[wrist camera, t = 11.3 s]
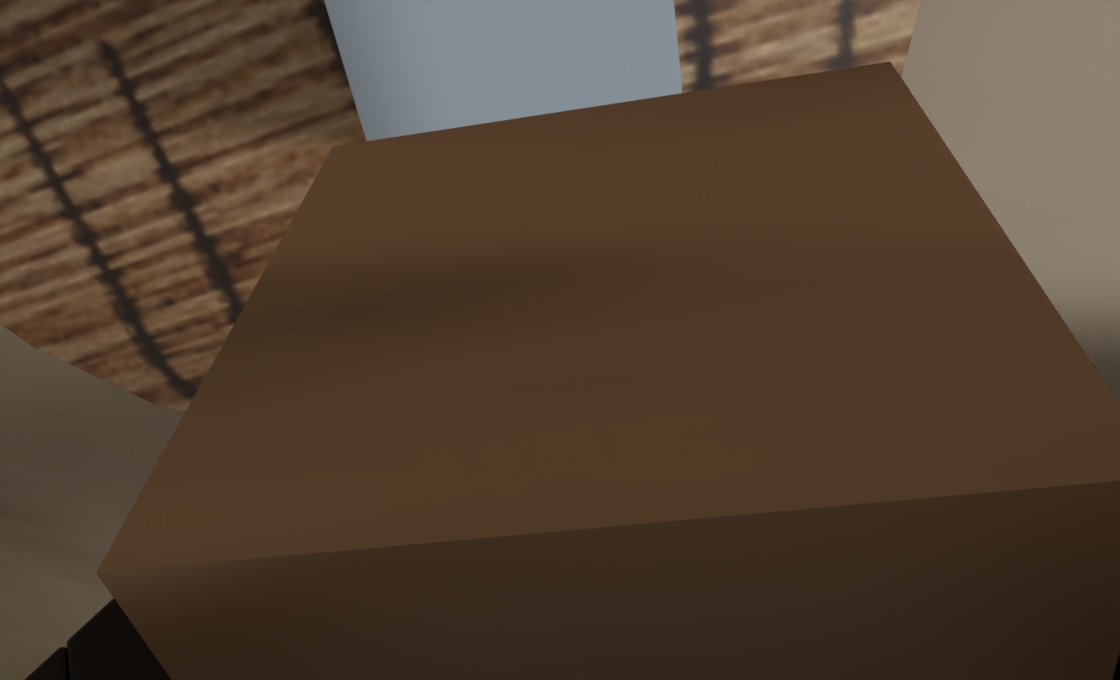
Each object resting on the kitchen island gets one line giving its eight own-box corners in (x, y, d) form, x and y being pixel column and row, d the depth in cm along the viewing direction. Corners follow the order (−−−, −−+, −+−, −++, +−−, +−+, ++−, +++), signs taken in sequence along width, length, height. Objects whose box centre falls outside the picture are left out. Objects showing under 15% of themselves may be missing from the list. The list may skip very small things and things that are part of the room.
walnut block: (879, 479, 11) (1035, 964, 7) (460, 518, 12) (379, 979, 8) (890, 60, 8) (1166, 475, 4) (333, 146, 9) (97, 571, 5)
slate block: (682, 115, 20) (695, 233, 16) (449, 145, 20) (403, 266, 16) (657, -150, 17) (665, -90, 13) (387, -104, 18) (314, -33, 14)
